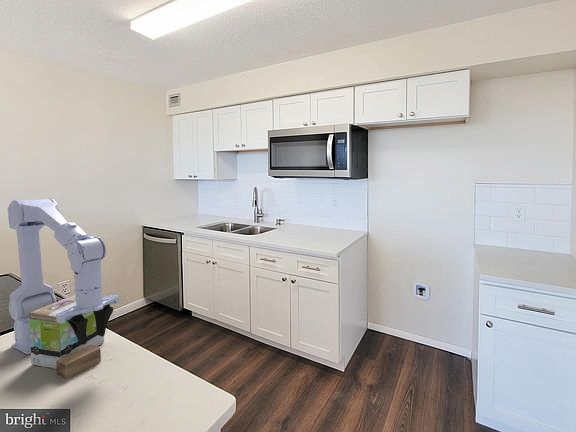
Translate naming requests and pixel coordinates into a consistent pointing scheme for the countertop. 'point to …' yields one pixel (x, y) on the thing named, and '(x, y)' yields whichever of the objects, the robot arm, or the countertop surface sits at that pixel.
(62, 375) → the walnut bar
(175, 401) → the countertop surface
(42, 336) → the tea box
